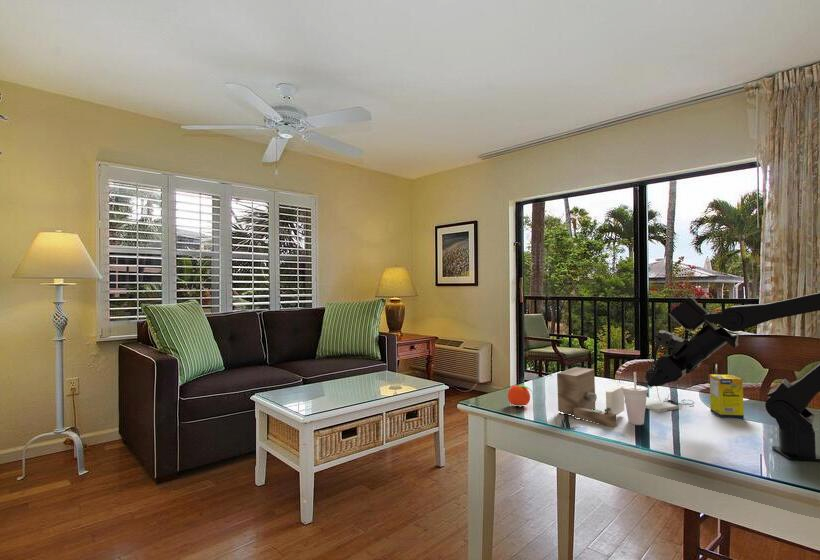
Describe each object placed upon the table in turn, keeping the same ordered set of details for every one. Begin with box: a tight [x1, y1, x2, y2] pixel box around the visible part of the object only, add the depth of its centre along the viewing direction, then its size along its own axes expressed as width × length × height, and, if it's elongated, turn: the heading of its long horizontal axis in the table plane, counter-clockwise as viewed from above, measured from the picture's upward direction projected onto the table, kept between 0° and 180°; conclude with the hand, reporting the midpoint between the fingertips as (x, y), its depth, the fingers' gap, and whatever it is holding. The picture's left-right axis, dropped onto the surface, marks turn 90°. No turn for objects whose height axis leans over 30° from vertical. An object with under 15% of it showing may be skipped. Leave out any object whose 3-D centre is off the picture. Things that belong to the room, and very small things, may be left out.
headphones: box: [645, 343, 694, 407], centre depth 136 cm, size 15×11×20 cm
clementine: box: [507, 384, 534, 406], centre depth 136 cm, size 8×7×7 cm
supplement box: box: [709, 373, 745, 419], centre depth 123 cm, size 6×6×11 cm
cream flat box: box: [604, 385, 625, 416], centre depth 121 cm, size 2×11×7 cm, turn 134°
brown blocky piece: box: [556, 366, 618, 428], centre depth 126 cm, size 16×14×12 cm
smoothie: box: [622, 371, 649, 426], centre depth 118 cm, size 6×6×14 cm
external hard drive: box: [645, 396, 680, 413], centre depth 134 cm, size 2×8×12 cm
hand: (654, 382), depth 115 cm, fingers open, 9 cm apart
